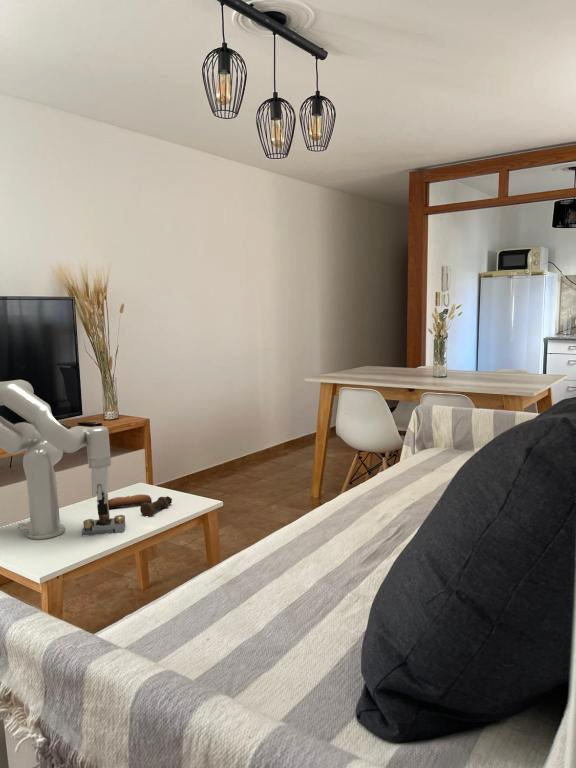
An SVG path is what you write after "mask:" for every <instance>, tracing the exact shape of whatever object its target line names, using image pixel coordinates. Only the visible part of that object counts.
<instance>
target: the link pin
mask: <svg viewBox="0 0 576 768" xmlns="http://www.w3.org/2000/svg"><path fill="white" fill-rule="evenodd" d="M102 495H104V493H102ZM102 498H104V497H102ZM108 500H109V492H108V493H107V495H106V503H107V510H108V514H107V515H98V519H99V522H100V523H106V522H109V521H110V518H111V517H110V509H109V504H108Z"/></svg>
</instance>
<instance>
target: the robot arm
mask: <svg viewBox="0 0 576 768" xmlns="http://www.w3.org/2000/svg"><path fill="white" fill-rule="evenodd" d="M34 391H35V390H34V388H33V386H32V384H31V383H30V382H29V381H26V380H23V379H14V380H7V381H0V406H5V407H7V408H8V409H9V410H11V411H12V412H13V413H15V414H17V415H18V416H20V417H21V418H22V419H24V420H26V421H27V422H17V423H15V424H14V423H12V422H10V421H8V420H7V419H5V418H4V417H3V416H1V415H0V449H2V450H3V451H4V452H5V453H8V454H10V455H12V454H13V455H16V454H19V453H21V452H24V451H25V454H24V455H23V459H22V466H23V471H24V475H25V479H26V487H27V498H28V508H29V509H28V510H29V520H30V521H27V522H26V523H25V522H22V523H20V522H19V523H18V524H17V529H18V530H19V531H26V537H27V538H29V539H31V540H45V539H50V538H53V537H57V536H59V535H61V534H63V533H64V532H65V531H66V527H65V525H64V524H62V523H61V520H60V518H61V517H60V507H59V495H58V493H59V492H58V482H57V477H56V473H55V469H54V466H55V465H56V464H58V463H59V462H60V460H62V458H63V455H64V453H67V454H71V453H72V454H73V453H75V452H77V451H79V450H80V449H82V448H84V447H86V450H87V451H86V453H87V463H88V465H87V466H88V468H89V469H91V470H90V471H91V473H90V475H91V478H90V479H91V495H92V497H94V498H95V497H96V498H97V500H96V501H97V505H96V506H97V515H98V516H99V515H107V514H108V510H107V503H106V495H107V493H108V494H109V489H110V475H109V467H110V466H111V465H112V462H111V460H112V458H111V446H110V435H109V433H110V432H109V429H108V427H107V426H102V425H99V426H83V425H82V426H81V425H77V426H73V427H71V428H68V427H65V426H64V425H62V424H61V422H59V421H58V420H57V419H56V418H55V417H54V415H53V414H52V409H51V406H50V404H49V403H48V402H46V401H44V400H43V399H41V398H40V397H38V396H37V395H36V394H34V393H35V392H34ZM102 493H104V495H102ZM102 497H104V498H102ZM108 504H109V502H108Z"/></svg>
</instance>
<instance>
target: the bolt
mask: <svg viewBox="0 0 576 768" xmlns="http://www.w3.org/2000/svg"><path fill="white" fill-rule="evenodd" d="M172 503H173V498H171V497H170V496H168V495H167V496H160V497H158V498H157V500H156V501H152V503H146V502H145V503H143V504H141V505H140V509H139V510H140V513H141V515H142V516H143V517H146V516H148V517H152V516H153V514H154V512H155V511H157V510H160V509H161V508H163V510H164V509H167V508H168V506H169V505H170V504H172ZM148 517H147V518H148Z"/></svg>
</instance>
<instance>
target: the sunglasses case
mask: <svg viewBox="0 0 576 768" xmlns="http://www.w3.org/2000/svg"><path fill="white" fill-rule="evenodd" d="M152 500H153V499H152V497H151V496H150V495H147V494H135V495H127V496H116V497H113V498H110V499H108V502H109V510H110V509H114V508H120V507H126V506H127V507H129V506H137V505H142V504H143V503H145V502H146V503H153V501H152Z"/></svg>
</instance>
